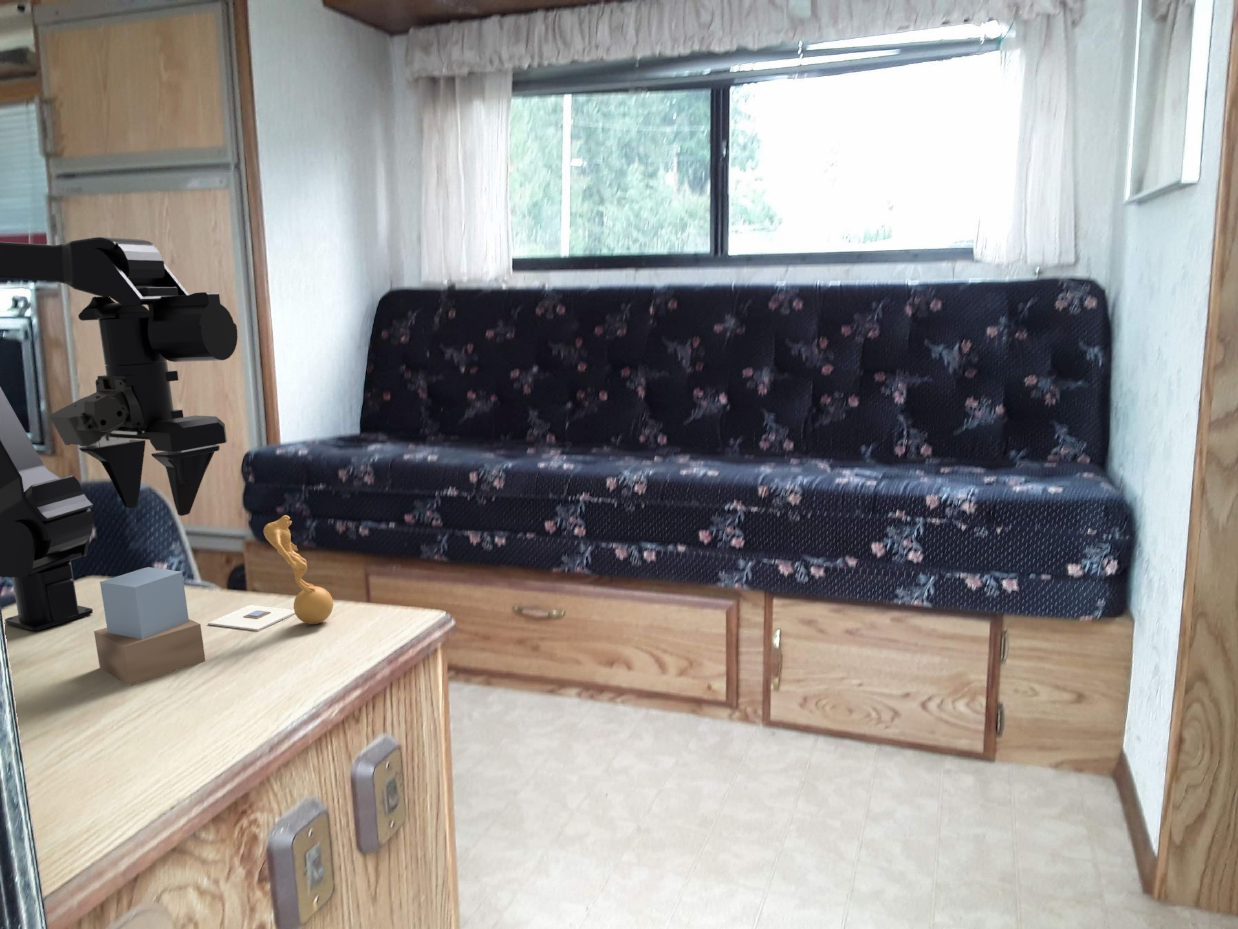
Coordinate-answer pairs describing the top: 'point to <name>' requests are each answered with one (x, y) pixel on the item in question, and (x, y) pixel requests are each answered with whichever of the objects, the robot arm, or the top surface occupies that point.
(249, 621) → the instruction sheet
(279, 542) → the figurine
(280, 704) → the top surface
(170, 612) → the blue brick
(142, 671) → the base brick
